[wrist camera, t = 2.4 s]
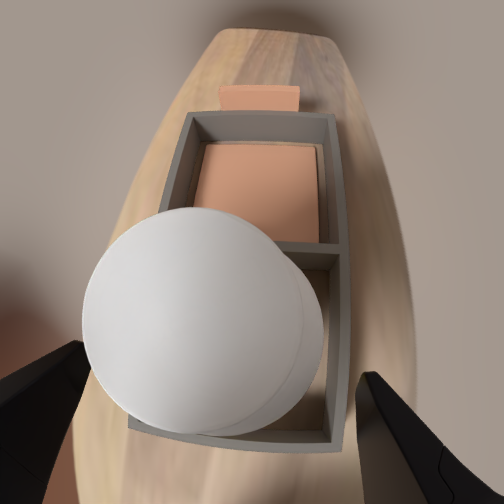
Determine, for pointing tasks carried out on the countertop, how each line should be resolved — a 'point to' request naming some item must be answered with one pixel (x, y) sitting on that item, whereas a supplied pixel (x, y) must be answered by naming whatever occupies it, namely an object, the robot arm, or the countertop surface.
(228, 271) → the supplement bottle
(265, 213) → the tray
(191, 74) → the countertop surface
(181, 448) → the countertop surface
